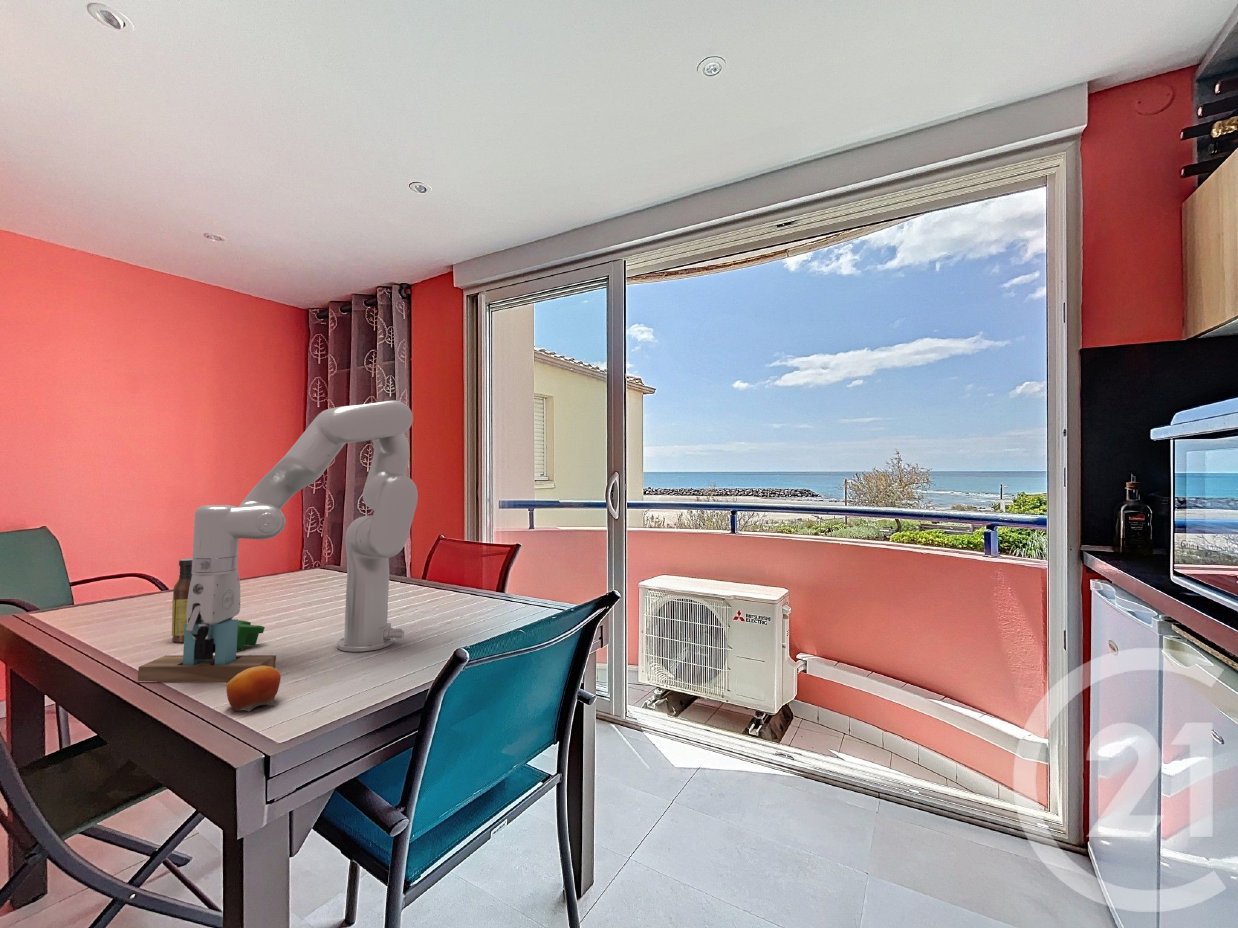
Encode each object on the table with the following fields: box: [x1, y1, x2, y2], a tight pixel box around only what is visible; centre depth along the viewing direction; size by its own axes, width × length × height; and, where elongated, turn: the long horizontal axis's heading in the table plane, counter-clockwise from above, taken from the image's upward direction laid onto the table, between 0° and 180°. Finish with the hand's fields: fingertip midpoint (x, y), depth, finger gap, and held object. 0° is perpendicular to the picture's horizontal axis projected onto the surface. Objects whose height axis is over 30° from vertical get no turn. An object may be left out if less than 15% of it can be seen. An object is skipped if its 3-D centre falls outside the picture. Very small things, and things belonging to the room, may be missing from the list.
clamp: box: [236, 619, 265, 652], centre depth 130 cm, size 12×6×9 cm, turn 52°
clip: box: [182, 618, 239, 665], centre depth 110 cm, size 4×8×9 cm, turn 95°
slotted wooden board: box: [137, 654, 277, 683], centre depth 110 cm, size 7×22×3 cm, turn 95°
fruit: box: [226, 666, 282, 713], centre depth 96 cm, size 8×8×8 cm
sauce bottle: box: [171, 557, 193, 644], centre depth 133 cm, size 6×6×20 cm
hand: (210, 654), depth 110 cm, fingers closed on clip, 3 cm apart
